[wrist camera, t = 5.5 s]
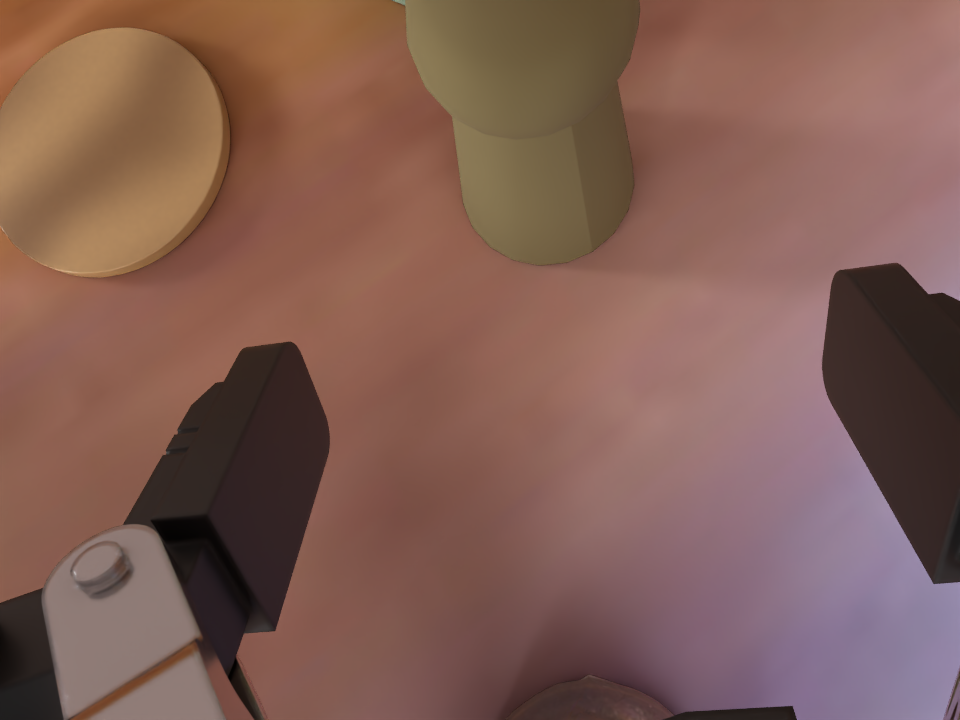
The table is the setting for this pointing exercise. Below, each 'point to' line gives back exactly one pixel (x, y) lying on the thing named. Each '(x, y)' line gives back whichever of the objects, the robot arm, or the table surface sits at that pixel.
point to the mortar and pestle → (590, 703)
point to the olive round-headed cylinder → (533, 116)
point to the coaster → (110, 152)
